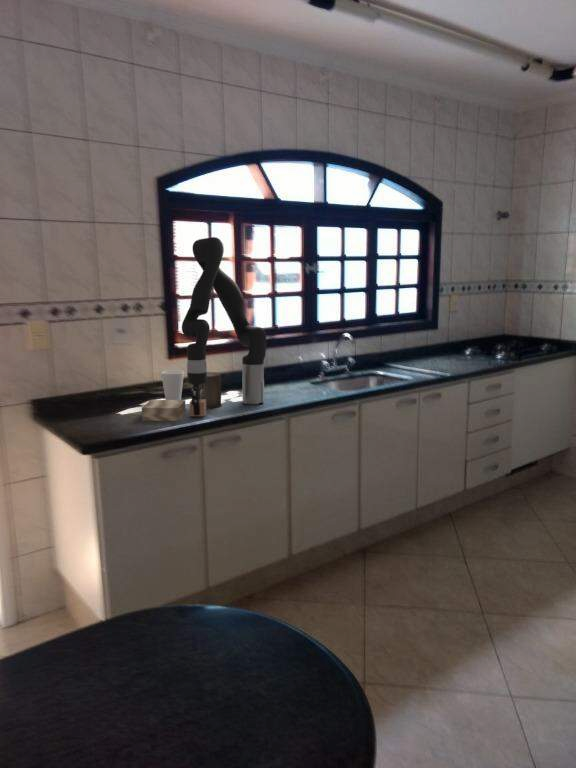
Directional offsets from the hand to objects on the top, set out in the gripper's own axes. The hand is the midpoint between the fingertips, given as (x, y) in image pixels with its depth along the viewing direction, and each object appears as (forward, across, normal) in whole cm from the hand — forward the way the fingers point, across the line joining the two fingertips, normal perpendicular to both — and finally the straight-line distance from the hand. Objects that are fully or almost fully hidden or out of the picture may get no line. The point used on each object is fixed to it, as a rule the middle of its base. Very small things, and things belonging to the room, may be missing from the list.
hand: (198, 412), depth 225 cm
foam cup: (+2, +26, +15) cm, 30 cm away
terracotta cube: (+1, 0, 0) cm, 1 cm away
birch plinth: (+1, 0, +13) cm, 13 cm away
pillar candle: (+2, +19, -2) cm, 19 cm away
